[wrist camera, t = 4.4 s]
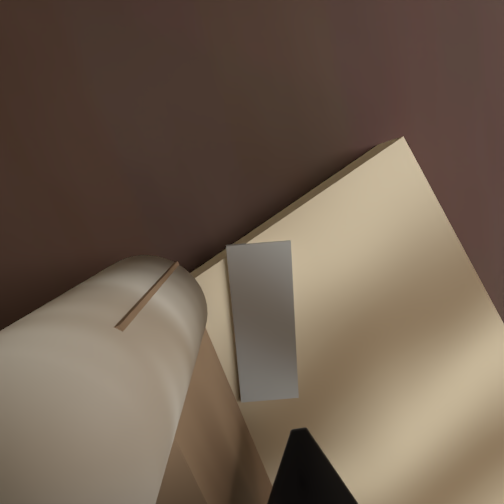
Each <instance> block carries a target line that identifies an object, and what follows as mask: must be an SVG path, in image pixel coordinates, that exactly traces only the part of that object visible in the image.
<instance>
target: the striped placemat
mask: <svg viewBox="0 0 504 504" xmlns="http://www.w3.org/2000/svg"><path fill="white" fill-rule="evenodd" d="M190 274H191V275H192V276H193V277H194V278H195V279H196V281H197V282H198V284H199V285H200V287H201V289H202V291H203V293H204V296H205V299H206V303H207V312H208V315H207V323H206V330H207V332H208V334H209V337H210V339H211V342H212V344H213V346H214V349H215V351H216V353H217V356H218V358H219V361H220V363H221V365H222V368H223V370H224V372H225V375H226V377H227V380H228V382H229V384H230V387H231V389H232V391H233V394H234V396H235V399H236V401H237V403H238V406H239V408H240V410H241V413H242V415H243V418H244V420H245V422H246V425H247V427H248V429H249V432H250V434H251V437H252V439H253V441H254V444H255V446H256V448H257V451H258V453H259V456H260V458H261V460H262V463H263V465H264V467H265V470H266V472H267V475H268V477H269V479H270V482H271V484H272V486H273V483H274V480H275V477H276V474H277V471H278V468H279V465H280V462H281V459H282V456H283V453H284V450H285V447H286V444H287V440H288V437H289V434H290V431H291V430H292V429H297V428H303V427H306V428H308V430H309V432H310V433H311V435H312V436H313V438H314V439H315V441H316V442H317V443H318V445H319V446H320V448H321V449H322V451H323V452H324V454H325V455H326V457H327V458H328V460H329V461H330V463H331V464H332V466H333V467H334V468H335V470H336V471H337V473H338V474H339V476H340V477H341V479H342V480H343V482H344V483H345V485H346V486H347V488H348V489H349V491H350V492H351V494H352V495H353V496H354V498H355V499H356V501H357V502H358V504H504V324H503V322H502V320H501V318H500V316H499V314H498V312H497V311H496V309H495V307H494V305H493V303H492V301H491V299H490V297H489V296H488V294H487V292H486V290H485V288H484V286H483V284H482V282H481V281H480V279H479V277H478V275H477V273H476V271H475V269H474V268H473V266H472V264H471V262H470V260H469V258H468V256H467V254H466V253H465V251H464V249H463V247H462V245H461V243H460V241H459V239H458V238H457V236H456V234H455V232H454V230H453V228H452V226H451V225H450V223H449V221H448V219H447V217H446V215H445V213H444V211H443V210H442V208H441V206H440V204H439V202H438V200H437V198H436V196H435V195H434V193H433V191H432V189H431V187H430V185H429V183H428V182H427V180H426V178H425V176H424V174H423V172H422V170H421V168H420V167H419V165H418V163H417V161H416V159H415V157H414V155H413V153H412V152H411V150H410V148H409V146H408V144H407V142H406V140H405V139H404V137H400V138H397V139H394V140H391V141H387V142H384V143H381V144H378V145H377V146H375V147H374V148H372V149H371V150H369V151H368V152H367V153H365V154H364V155H362V156H361V157H359V158H358V159H356V160H355V161H353V162H352V163H350V164H349V165H347V166H346V167H345V168H343V169H342V170H340V171H339V172H337V173H336V174H334V175H333V176H331V177H330V178H328V179H327V180H326V181H324V182H323V183H321V184H320V185H318V186H317V187H315V188H314V189H312V190H311V191H309V192H308V193H307V194H305V195H304V196H302V197H301V198H299V199H298V200H296V201H295V202H293V203H292V204H290V205H289V206H288V207H286V208H285V209H283V210H282V211H280V212H279V213H277V214H276V215H274V216H273V217H271V218H270V219H269V220H267V221H266V222H264V223H263V224H261V225H260V226H258V227H257V228H255V229H254V230H252V231H251V232H250V233H248V234H247V235H245V236H244V237H242V238H241V239H239V240H238V241H236V242H235V243H233V244H231V245H226V249H225V250H223V251H222V252H220V253H219V254H217V255H216V256H214V257H213V258H211V259H210V260H209V261H207V262H206V263H204V264H203V265H201V266H200V267H198V268H197V269H195V270H194V271H192V272H191V273H190Z"/></svg>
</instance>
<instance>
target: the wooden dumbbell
mask: <svg viewBox="0 0 504 504" xmlns="http://www.w3.org/2000/svg"><path fill="white" fill-rule="evenodd" d="M207 315H208V312H207V303H206V299H205V296H204V293H203V291H202V289H201V287H200V285H199V284H198V282H197V281H196V279H195V278H194V277H193V276H192V275H191V274H190V273H189V272H188V271H187V270H186V269H184V268H183V267H182V266H180V265H179V263H178V261H177V262H173V261H171V260H168V259H165V258H162V257H158V256H151V255H139V256H132V257H129V258H125V259H123V260H120V261H118V262H116V263H115V264H113V265H111V266H109V267H108V268H106V269H104V270H103V271H101V272H99V273H98V274H96V275H94V276H92V277H91V278H89V279H87V280H86V281H84V282H82V283H81V284H79V285H77V286H76V287H74V288H72V289H70V290H69V291H67V292H65V293H64V294H62V295H60V296H59V297H57V298H55V299H53V300H52V301H50V302H48V303H47V304H45V305H43V306H42V307H40V308H38V309H37V310H35V311H33V312H31V313H30V314H28V315H26V316H25V317H23V318H21V319H20V320H18V321H16V322H14V323H13V324H11V325H9V326H8V327H6V328H4V329H3V330H1V331H0V504H267V502H268V499H269V496H270V493H271V490H272V487H273V486H272V484H271V482H270V479H269V477H268V475H267V472H266V470H265V467H264V465H263V463H262V460H261V458H260V456H259V453H258V451H257V448H256V446H255V444H254V441H253V439H252V437H251V434H250V432H249V429H248V427H247V425H246V422H245V420H244V418H243V415H242V413H241V410H240V408H239V406H238V403H237V401H236V399H235V396H234V394H233V391H232V389H231V387H230V384H229V382H228V380H227V377H226V375H225V372H224V370H223V368H222V365H221V363H220V361H219V358H218V356H217V353H216V351H215V349H214V346H213V344H212V342H211V339H210V337H209V334H208V332H207V330H206V323H207Z"/></svg>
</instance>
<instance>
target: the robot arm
mask: <svg viewBox="0 0 504 504" xmlns="http://www.w3.org/2000/svg"><path fill="white" fill-rule="evenodd" d="M267 504H358V502H357V501H356V499H355V498H354V496H353V495H352V494H351V492H350V491H349V489H348V488H347V486H346V485H345V483H344V482H343V480H342V479H341V477H340V476H339V474H338V473H337V471H336V470H335V468H334V467H333V466H332V464H331V463H330V461H329V460H328V458H327V457H326V455H325V454H324V452H323V451H322V449H321V448H320V446H319V445H318V443H317V442H316V441H315V439H314V438H313V436H312V435H311V433H310V432H309V430H308V428H306V427H303V428H297V429H292V430H291V431H290V434H289V437H288V440H287V444H286V447H285V450H284V453H283V456H282V459H281V462H280V465H279V468H278V471H277V474H276V477H275V480H274V483H273V487H272V490H271V493H270V496H269V499H268V502H267Z"/></svg>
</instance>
